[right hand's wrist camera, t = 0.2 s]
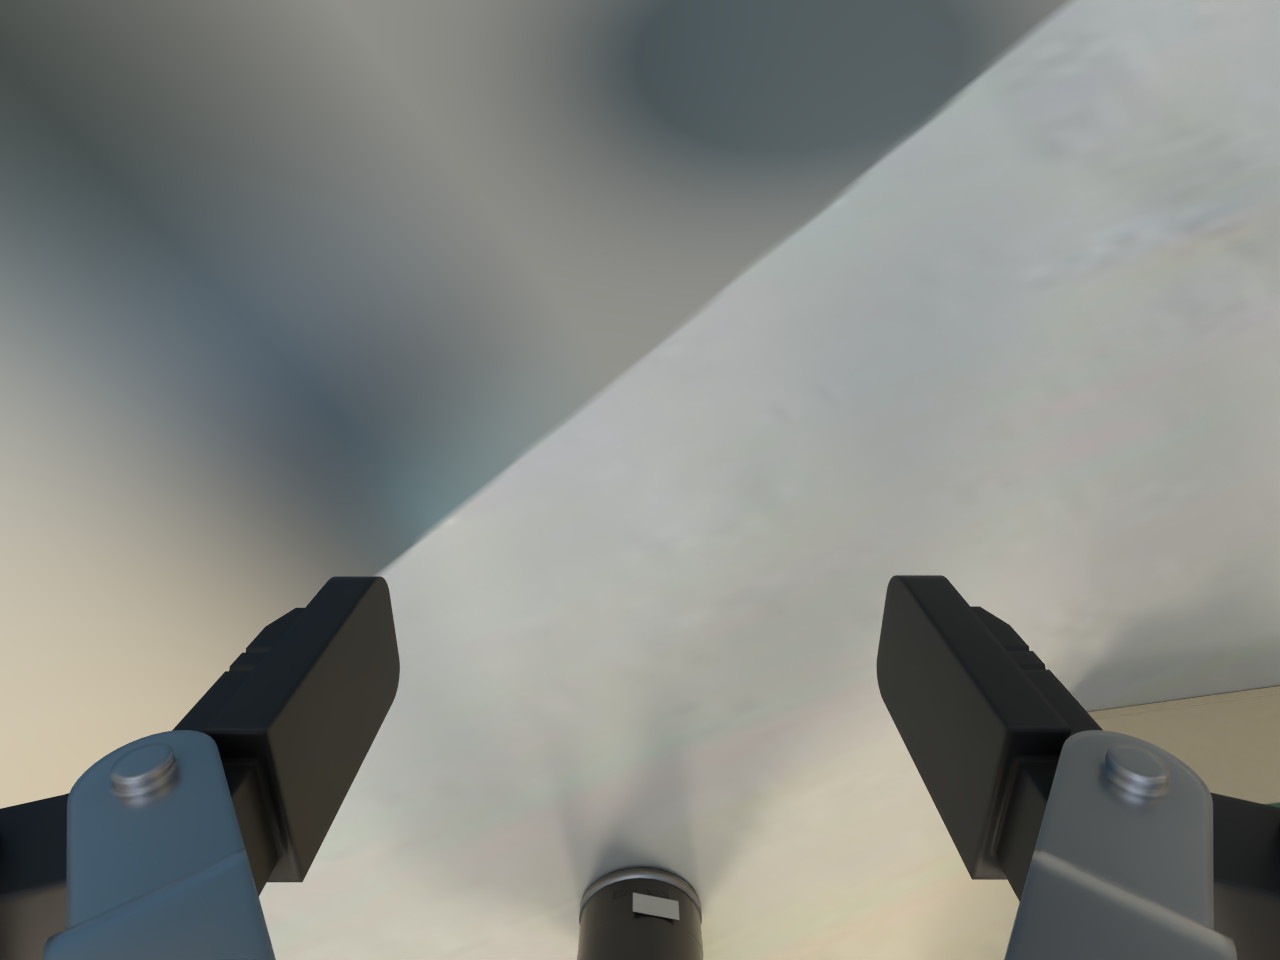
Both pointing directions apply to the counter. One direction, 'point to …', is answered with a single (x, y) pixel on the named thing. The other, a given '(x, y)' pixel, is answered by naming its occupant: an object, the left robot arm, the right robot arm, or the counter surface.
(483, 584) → the counter surface
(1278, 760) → the chest
